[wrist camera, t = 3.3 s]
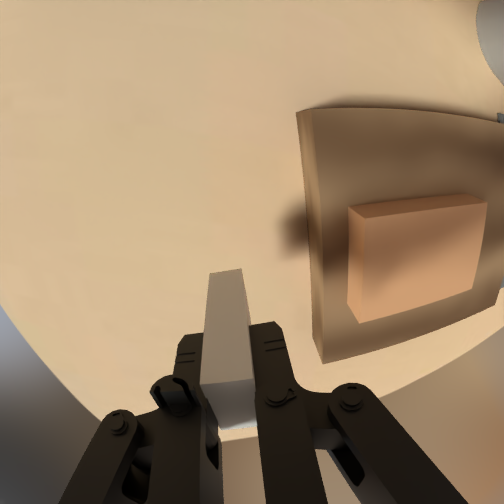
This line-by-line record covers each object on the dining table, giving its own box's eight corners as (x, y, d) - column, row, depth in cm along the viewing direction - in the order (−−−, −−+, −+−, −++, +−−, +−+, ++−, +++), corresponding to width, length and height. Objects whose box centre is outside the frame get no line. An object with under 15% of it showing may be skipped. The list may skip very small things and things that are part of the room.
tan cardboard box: (347, 206, 14) (364, 218, 12) (467, 193, 14) (487, 202, 12) (346, 303, 16) (359, 323, 14) (455, 275, 16) (471, 288, 15)
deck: (295, 112, 14) (310, 109, 12) (495, 123, 15) (520, 128, 12) (312, 337, 21) (322, 364, 18) (477, 289, 21) (494, 304, 19)
